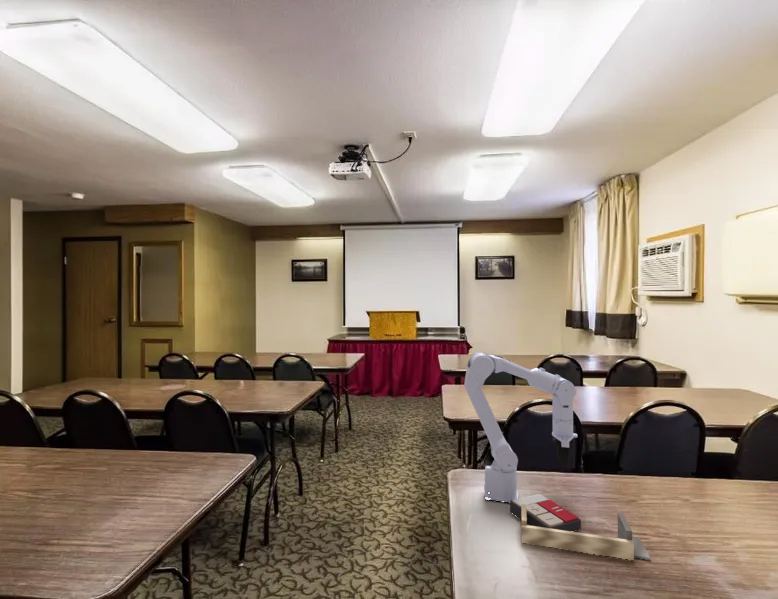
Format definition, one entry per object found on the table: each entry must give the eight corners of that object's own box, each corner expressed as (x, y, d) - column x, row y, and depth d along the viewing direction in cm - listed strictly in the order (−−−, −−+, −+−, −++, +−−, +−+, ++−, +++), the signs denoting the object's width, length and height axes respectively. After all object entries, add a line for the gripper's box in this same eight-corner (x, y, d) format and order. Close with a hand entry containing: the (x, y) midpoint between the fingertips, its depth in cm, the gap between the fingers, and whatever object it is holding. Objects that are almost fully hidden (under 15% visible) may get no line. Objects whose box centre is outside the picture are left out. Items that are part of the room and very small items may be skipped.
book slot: (521, 543, 102) (521, 518, 102) (521, 522, 112) (521, 500, 112) (652, 563, 94) (651, 536, 94) (639, 539, 104) (639, 515, 104)
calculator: (549, 525, 104) (509, 497, 118) (549, 543, 104) (508, 513, 118) (582, 517, 109) (539, 491, 122) (581, 533, 109) (538, 505, 122)
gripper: (580, 426, 118) (581, 474, 118) (574, 413, 132) (574, 457, 132) (553, 424, 121) (554, 471, 120) (550, 412, 134) (550, 455, 134)
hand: (563, 464), depth 126 cm, fingers closed
